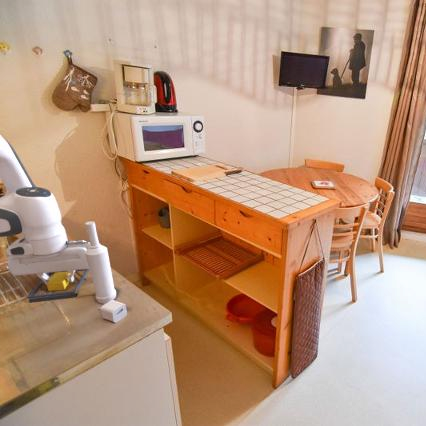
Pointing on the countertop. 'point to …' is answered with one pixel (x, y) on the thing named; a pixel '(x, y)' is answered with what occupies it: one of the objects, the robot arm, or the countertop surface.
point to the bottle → (99, 267)
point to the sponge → (58, 281)
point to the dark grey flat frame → (55, 297)
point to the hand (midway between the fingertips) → (60, 282)
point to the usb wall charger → (113, 311)
